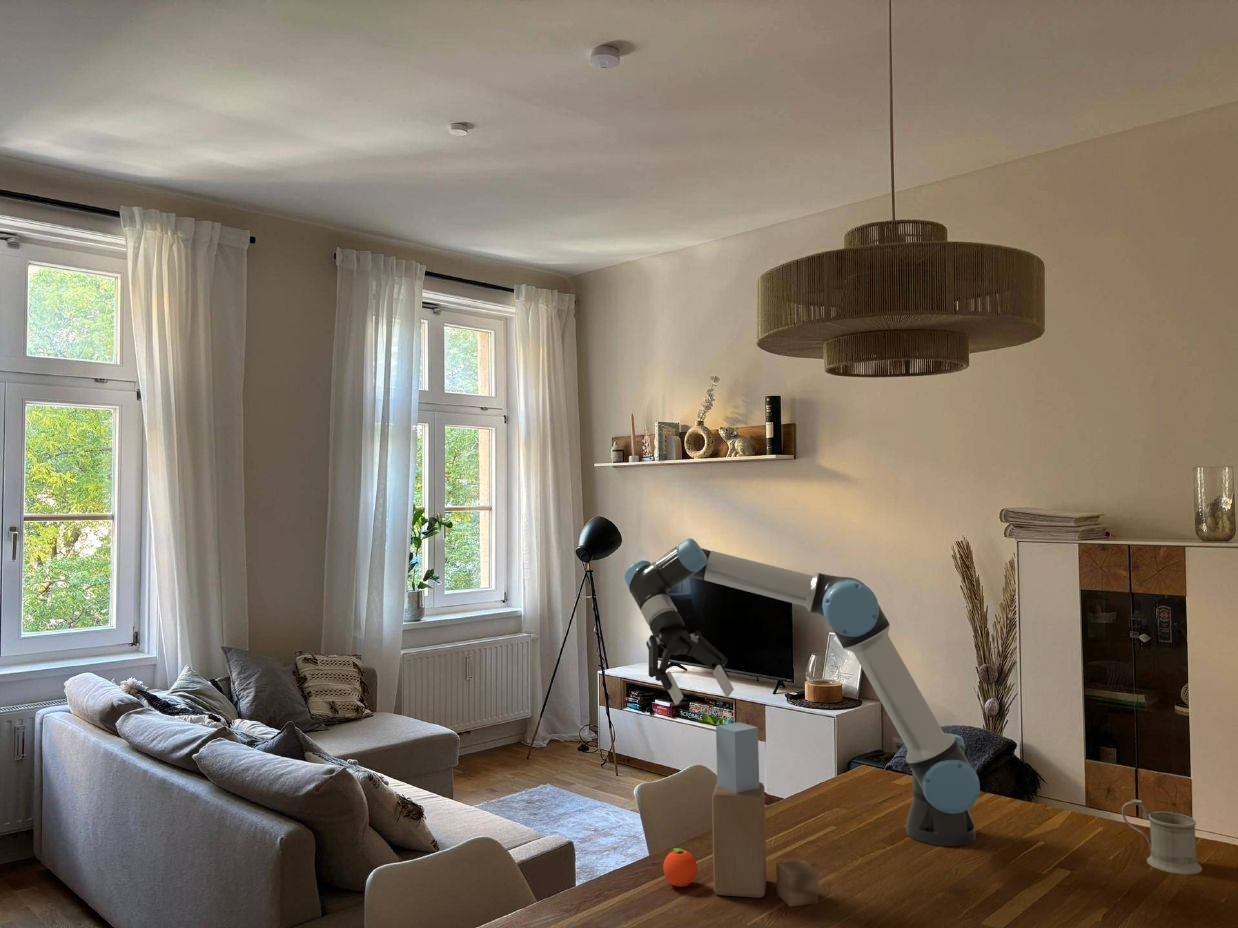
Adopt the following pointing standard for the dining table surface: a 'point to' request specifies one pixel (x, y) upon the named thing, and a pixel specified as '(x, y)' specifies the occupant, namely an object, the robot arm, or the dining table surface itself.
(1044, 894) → the dining table surface
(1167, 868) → the mug
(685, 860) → the clementine
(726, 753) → the slate block
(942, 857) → the dining table surface
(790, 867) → the walnut cube
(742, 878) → the block
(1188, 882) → the dining table surface
